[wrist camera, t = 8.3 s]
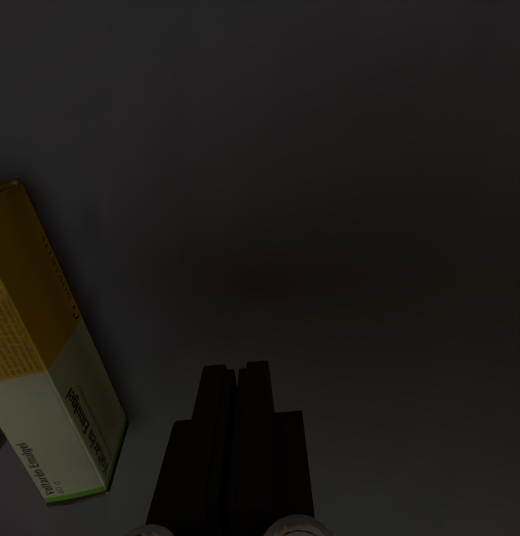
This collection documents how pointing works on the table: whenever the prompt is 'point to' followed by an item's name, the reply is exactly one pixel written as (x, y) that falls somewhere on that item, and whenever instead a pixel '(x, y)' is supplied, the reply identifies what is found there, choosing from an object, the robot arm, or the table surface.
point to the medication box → (51, 367)
